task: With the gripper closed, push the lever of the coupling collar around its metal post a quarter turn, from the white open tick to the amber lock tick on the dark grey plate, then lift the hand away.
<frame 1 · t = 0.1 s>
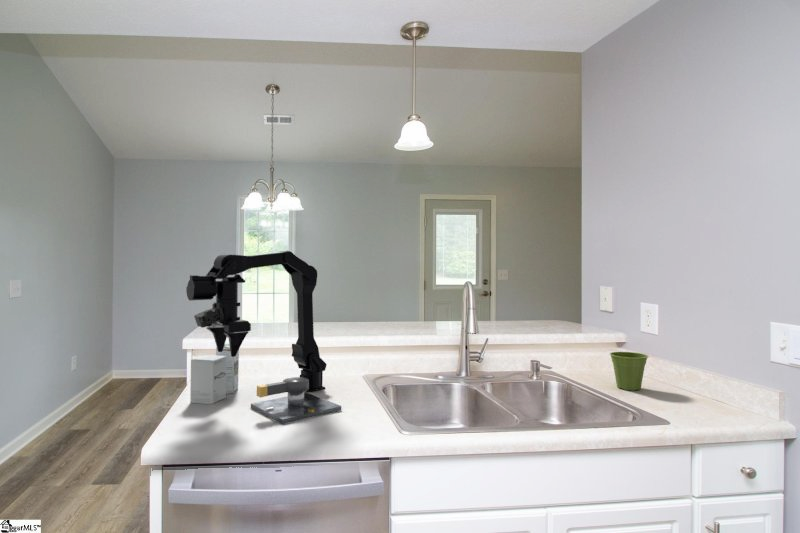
hand: (226, 354, 139), 15 cm above the counter, tool pointing down, fingers open, 9 cm apart
supplement box: (208, 401, 144), on the counter
plant pot: (628, 388, 163), on the counter
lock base: (295, 409, 136), on the counter
coupling: (283, 387, 133), point 7 cm above the counter, hinge at 0.0°
syrup box: (227, 392, 153), on the counter
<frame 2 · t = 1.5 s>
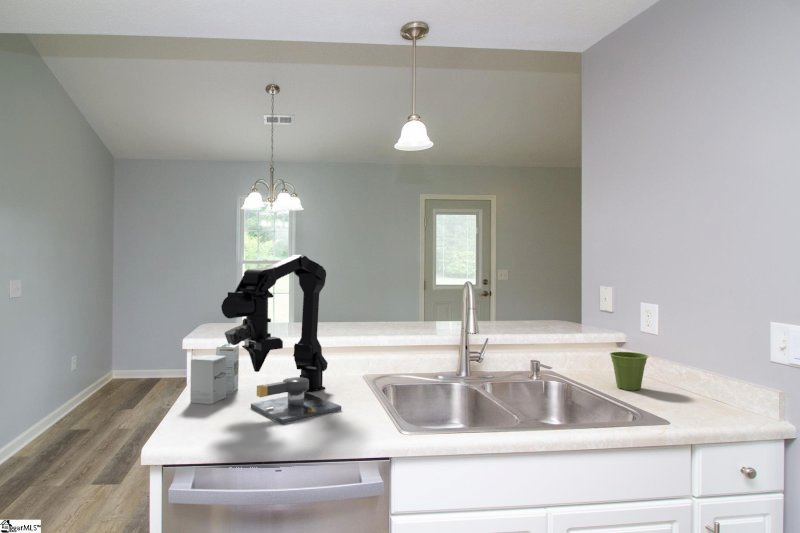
hand: (256, 371, 135), 11 cm above the counter, tool pointing down, fingers closed
nothing on the counter moved.
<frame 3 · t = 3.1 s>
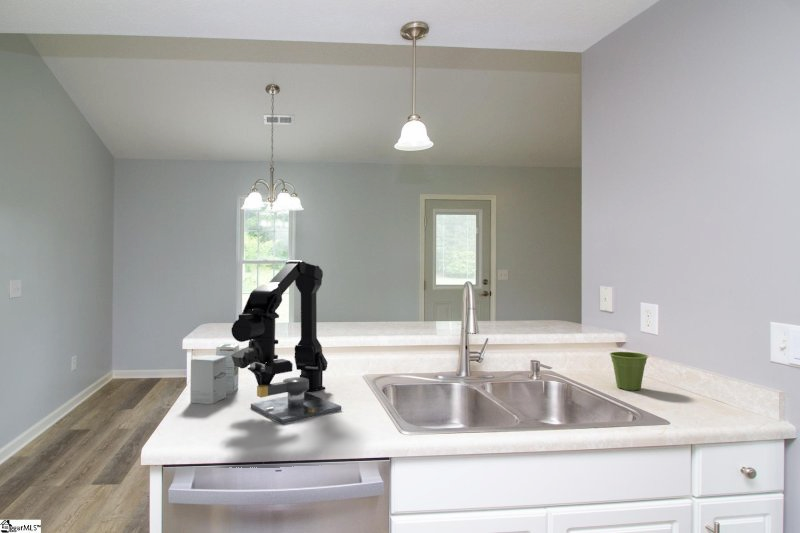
hand: (262, 394, 132), 5 cm above the counter, tool pointing down, fingers closed
coupling: (283, 387, 133), point 7 cm above the counter, hinge at 1.5°, touching gripper
everything else where it was.
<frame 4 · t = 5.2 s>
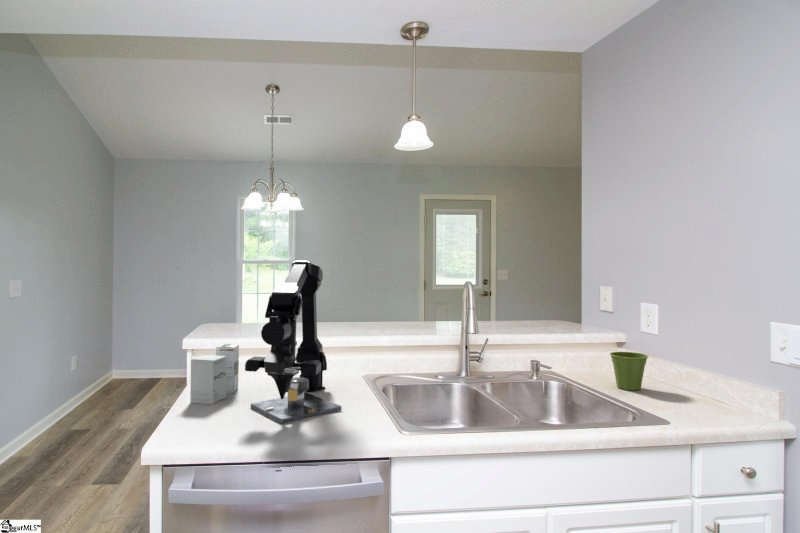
hand: (282, 398, 128), 5 cm above the counter, tool pointing down, fingers closed
coupling: (294, 388, 132), point 7 cm above the counter, hinge at 55.4°, touching gripper
everything else where it was.
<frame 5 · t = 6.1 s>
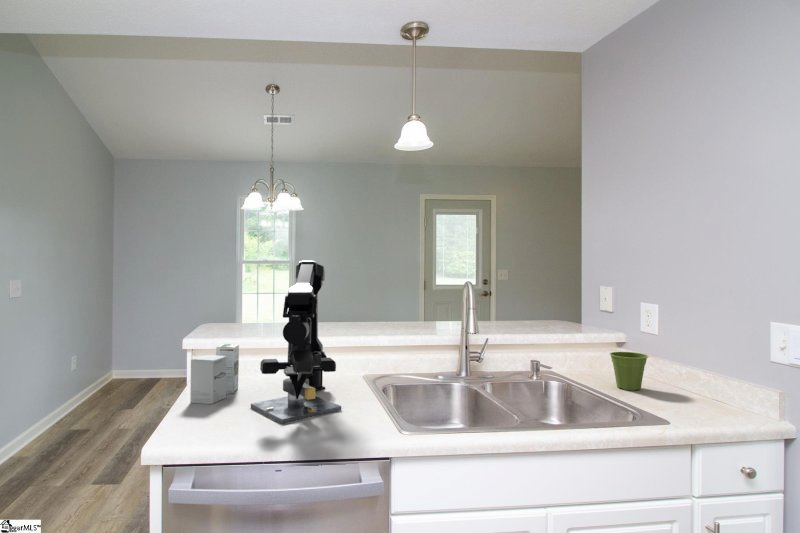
hand: (297, 398, 128), 5 cm above the counter, tool pointing down, fingers closed
coupling: (301, 387, 133), point 7 cm above the counter, hinge at 80.9°, touching gripper
everything else where it was.
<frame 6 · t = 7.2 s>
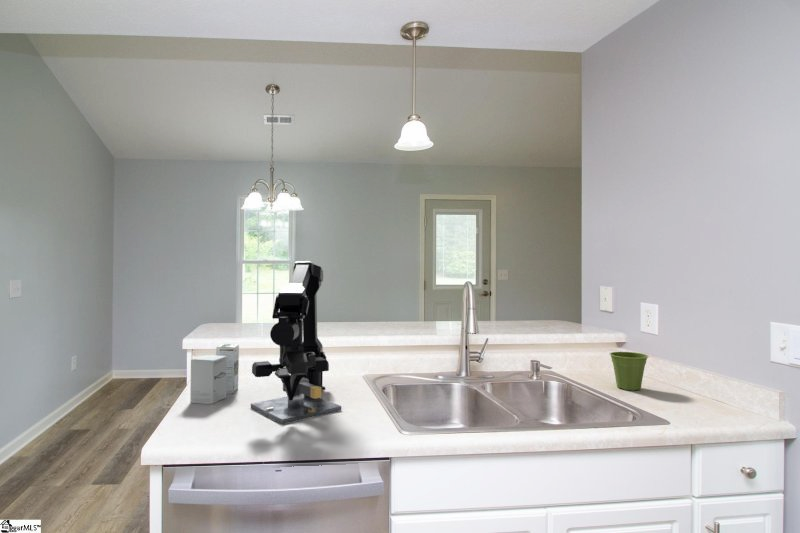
hand: (290, 400, 126), 5 cm above the counter, tool pointing down, fingers closed
coupling: (303, 387, 133), point 7 cm above the counter, hinge at 90.5°
everything else where it was.
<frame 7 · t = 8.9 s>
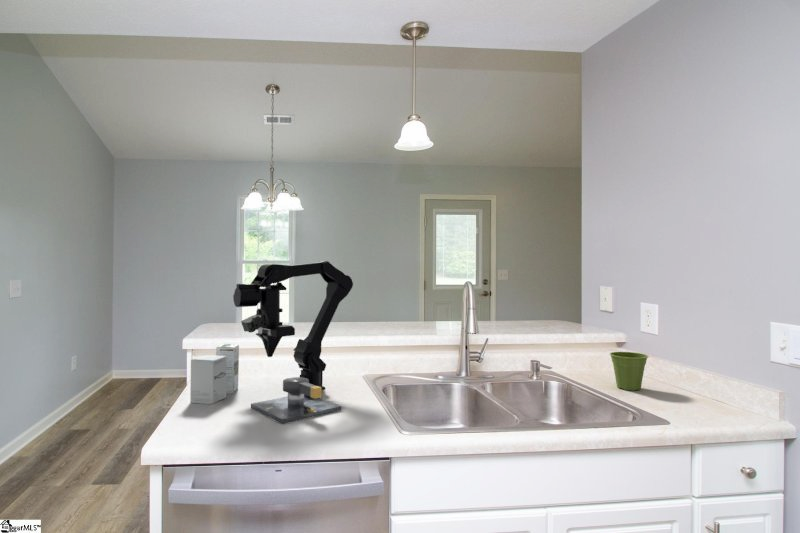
hand: (269, 356, 149), 12 cm above the counter, tool pointing down, fingers closed
nothing on the counter moved.
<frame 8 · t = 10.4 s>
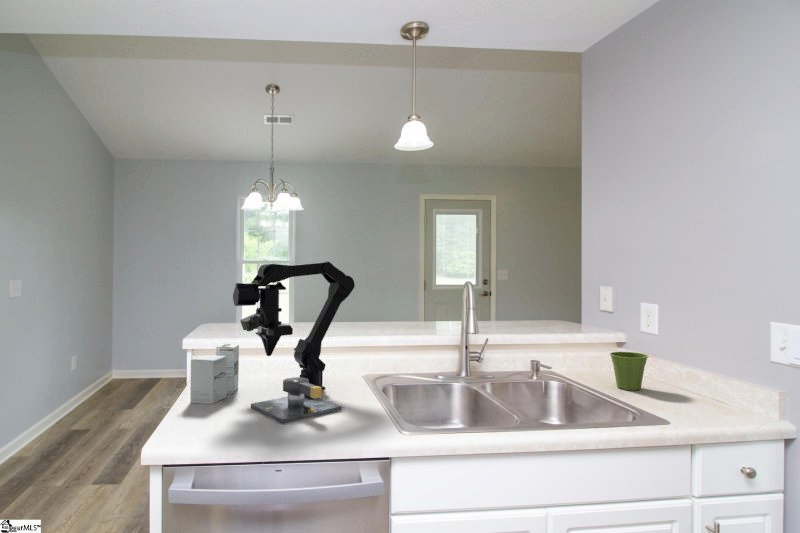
hand: (268, 355, 150), 12 cm above the counter, tool pointing down, fingers closed
nothing on the counter moved.
at the end: coupling at +90° (first picture: +0°) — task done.
